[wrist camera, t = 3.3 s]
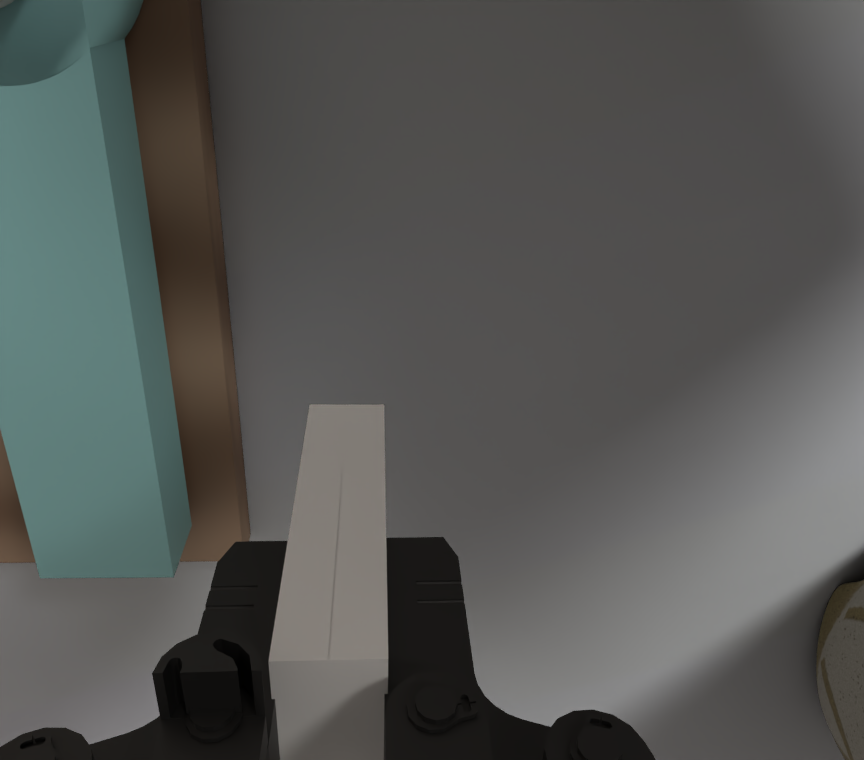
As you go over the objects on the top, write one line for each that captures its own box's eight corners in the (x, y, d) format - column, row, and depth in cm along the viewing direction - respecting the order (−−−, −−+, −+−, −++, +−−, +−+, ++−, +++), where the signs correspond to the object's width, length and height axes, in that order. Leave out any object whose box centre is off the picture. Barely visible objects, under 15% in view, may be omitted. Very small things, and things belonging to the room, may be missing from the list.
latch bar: (-141, -214, 16) (-224, -243, 14) (129, -200, 17) (89, -225, 14) (45, 526, 26) (12, 578, 23) (215, 525, 26) (199, 577, 24)
